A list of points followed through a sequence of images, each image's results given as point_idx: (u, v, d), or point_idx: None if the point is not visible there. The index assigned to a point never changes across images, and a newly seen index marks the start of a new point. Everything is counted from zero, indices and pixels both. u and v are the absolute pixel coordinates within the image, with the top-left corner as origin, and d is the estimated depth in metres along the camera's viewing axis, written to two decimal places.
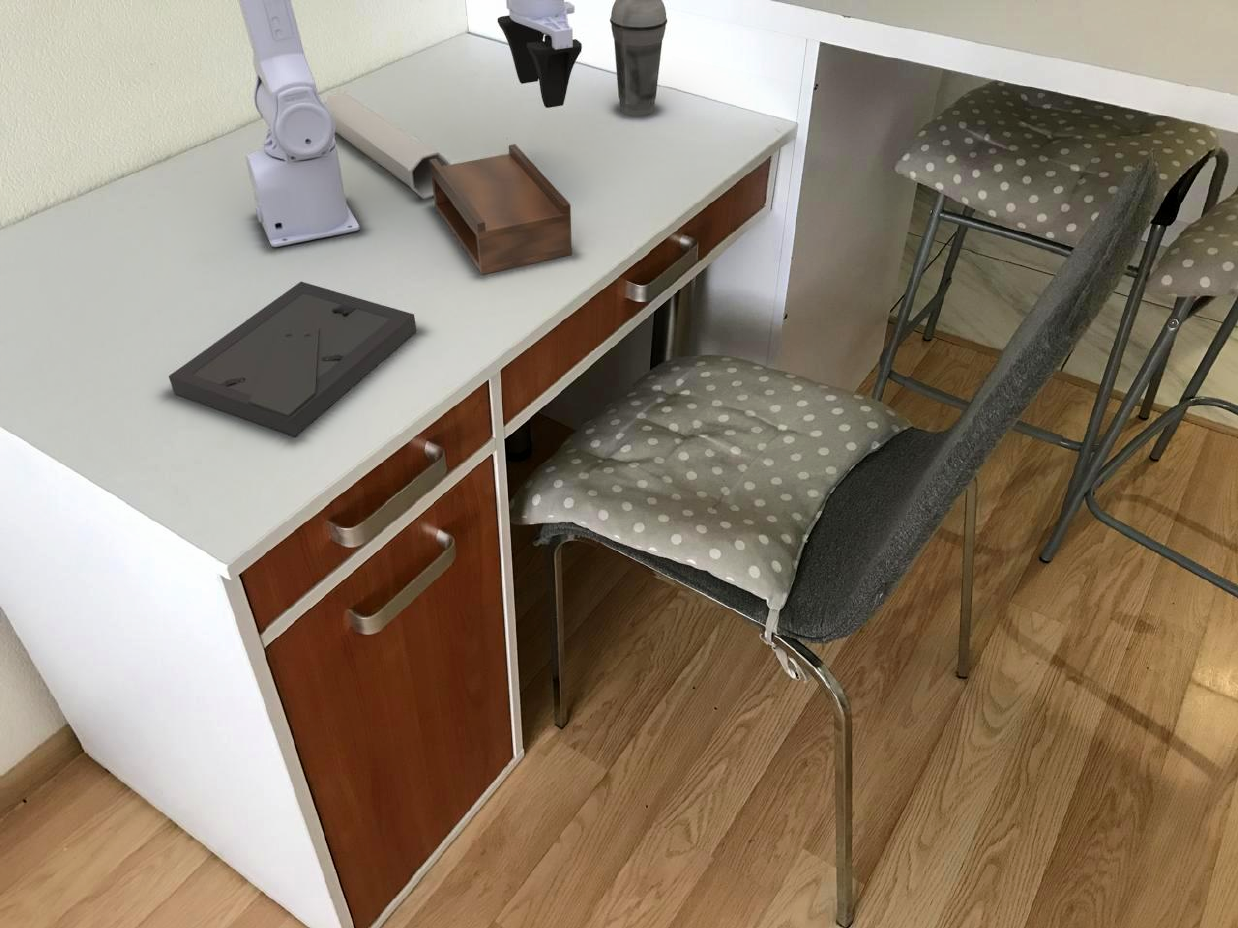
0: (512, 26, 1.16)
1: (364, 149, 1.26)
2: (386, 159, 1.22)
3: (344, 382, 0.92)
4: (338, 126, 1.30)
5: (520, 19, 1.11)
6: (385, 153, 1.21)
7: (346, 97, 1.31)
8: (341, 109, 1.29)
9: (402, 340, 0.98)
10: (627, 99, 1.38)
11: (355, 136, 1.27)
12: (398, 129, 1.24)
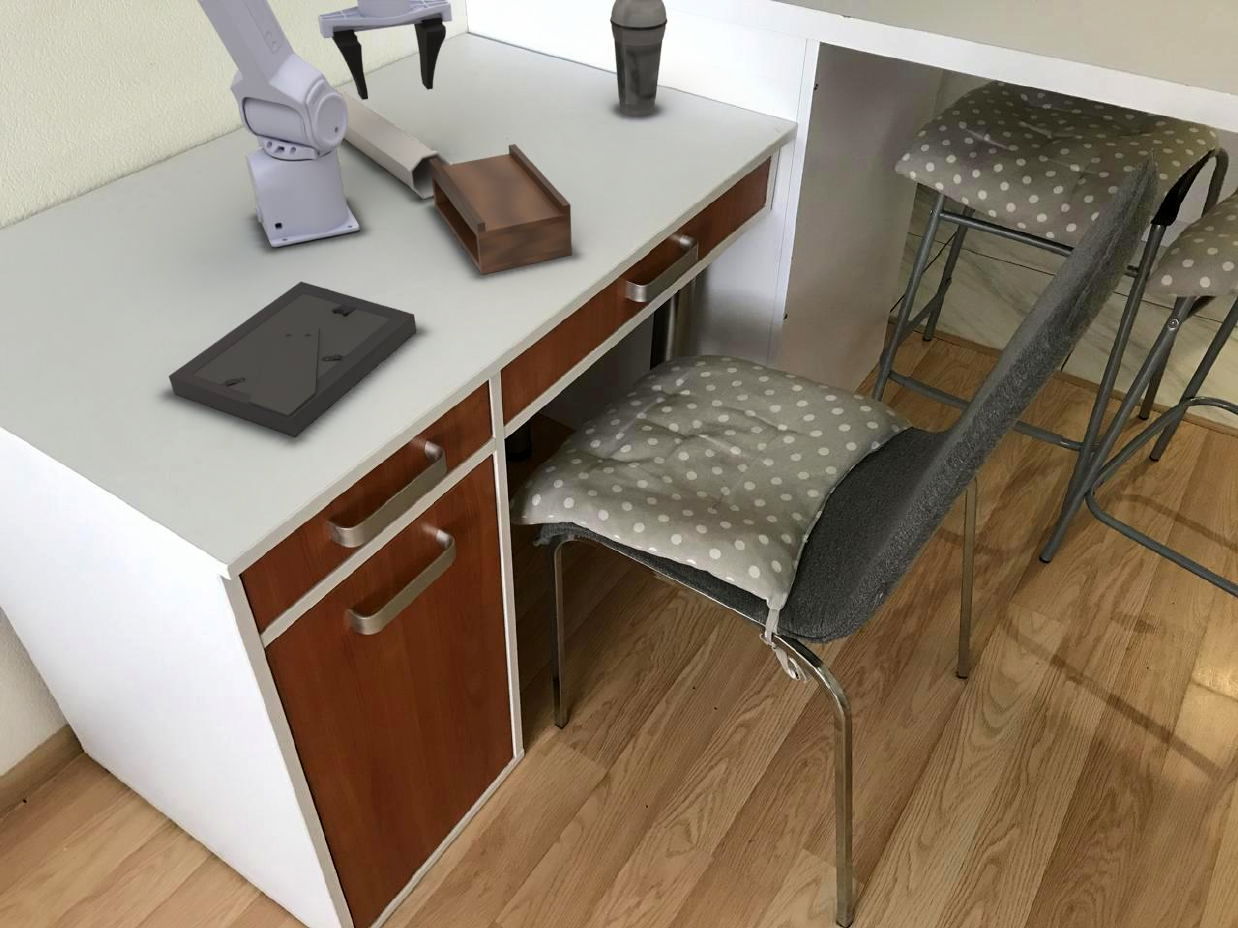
0: None
1: (364, 149, 1.26)
2: (386, 159, 1.22)
3: (344, 382, 0.92)
4: None
5: (406, 17, 1.15)
6: (385, 153, 1.21)
7: (346, 97, 1.31)
8: None
9: (402, 340, 0.98)
10: (627, 99, 1.38)
11: (355, 136, 1.27)
12: (398, 129, 1.24)
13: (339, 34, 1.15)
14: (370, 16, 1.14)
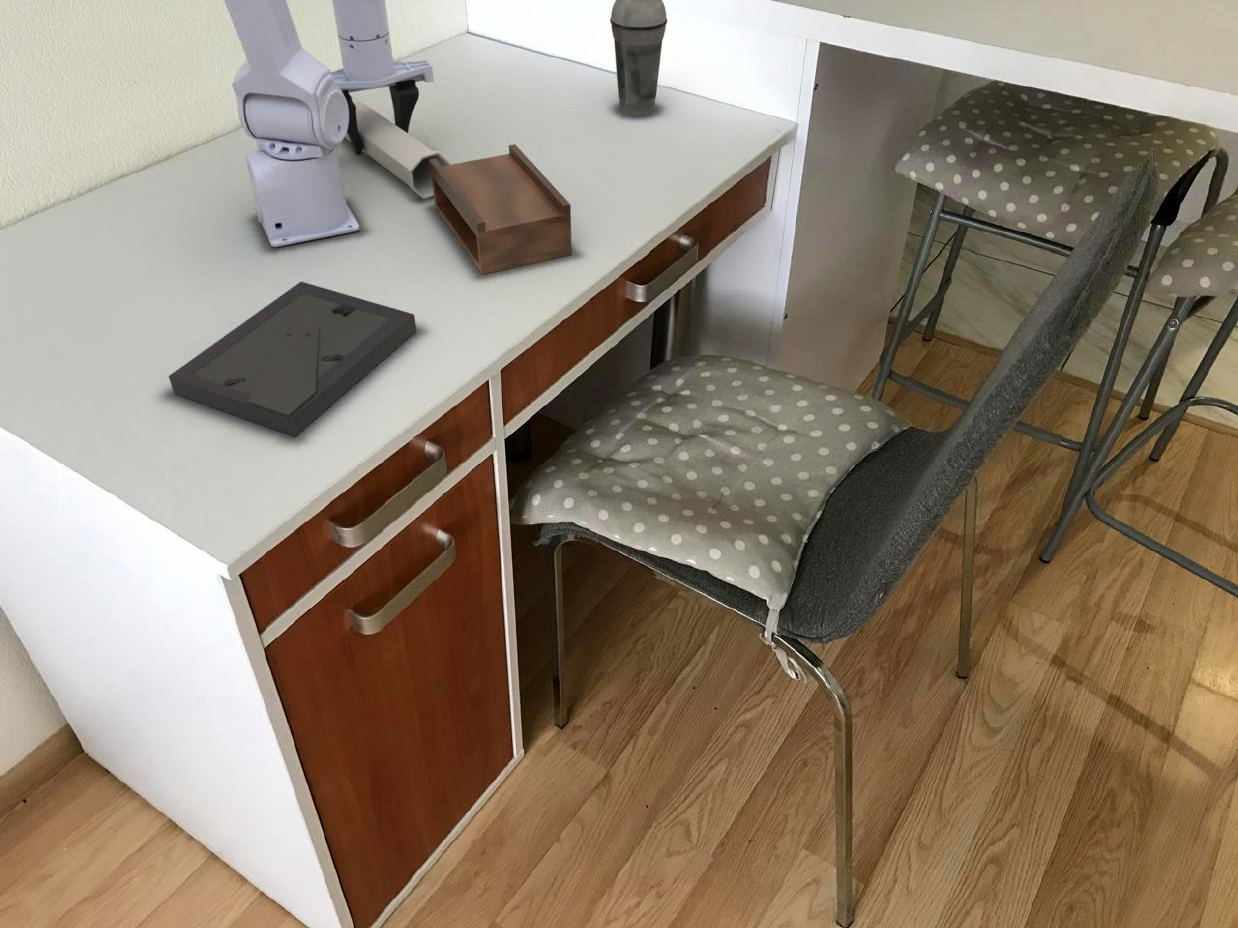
0: None
1: (365, 149, 1.26)
2: (387, 159, 1.22)
3: (344, 382, 0.92)
4: None
5: (390, 79, 1.21)
6: (385, 152, 1.21)
7: None
8: None
9: (402, 340, 0.98)
10: (627, 99, 1.38)
11: None
12: (399, 129, 1.24)
13: None
14: (355, 79, 1.20)
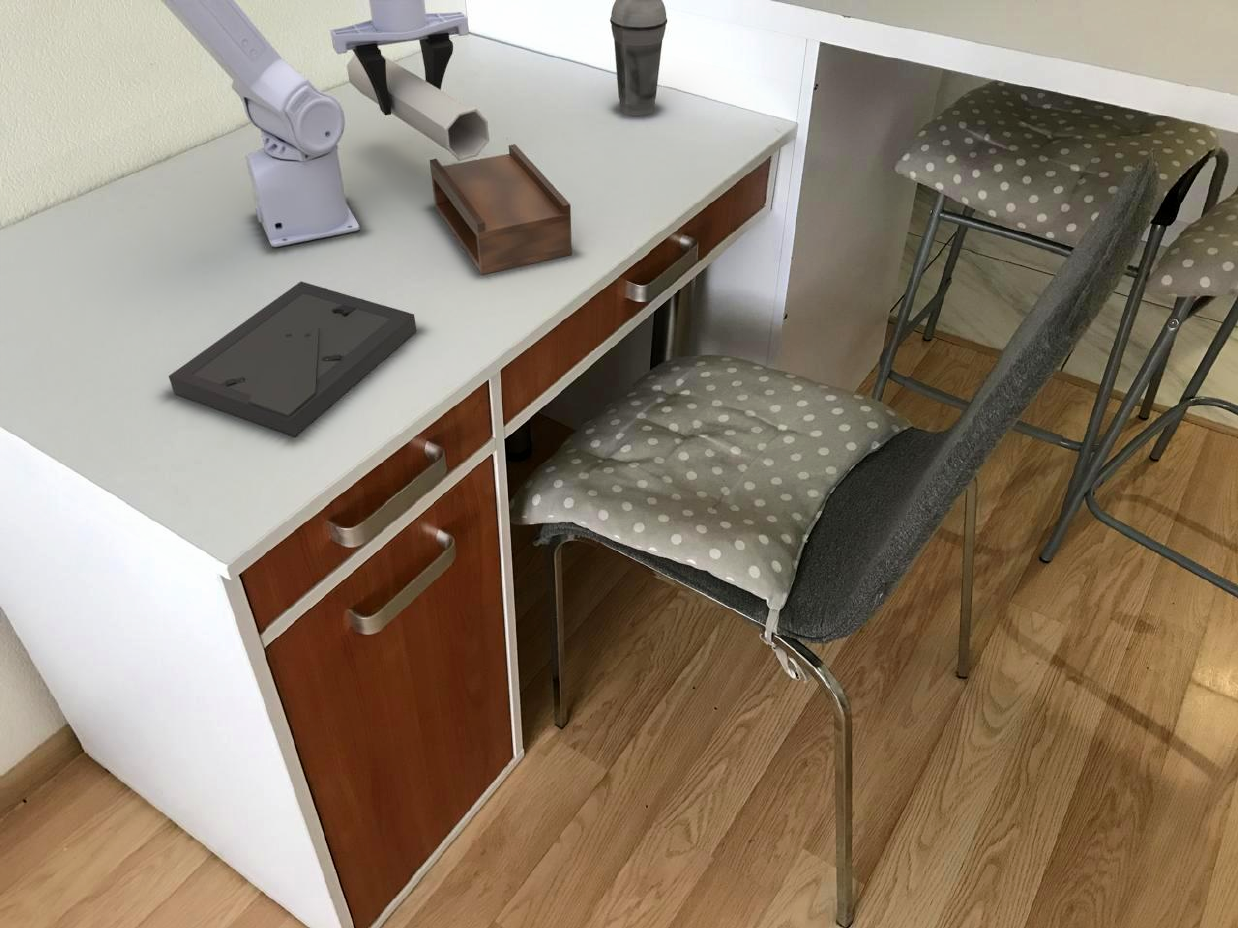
0: (382, 57, 1.12)
1: (394, 108, 1.16)
2: (419, 118, 1.12)
3: (344, 382, 0.92)
4: (365, 85, 1.20)
5: (422, 31, 1.11)
6: (417, 111, 1.12)
7: None
8: None
9: (402, 339, 0.98)
10: (627, 99, 1.38)
11: None
12: (431, 86, 1.14)
13: (362, 48, 1.11)
14: (385, 31, 1.10)
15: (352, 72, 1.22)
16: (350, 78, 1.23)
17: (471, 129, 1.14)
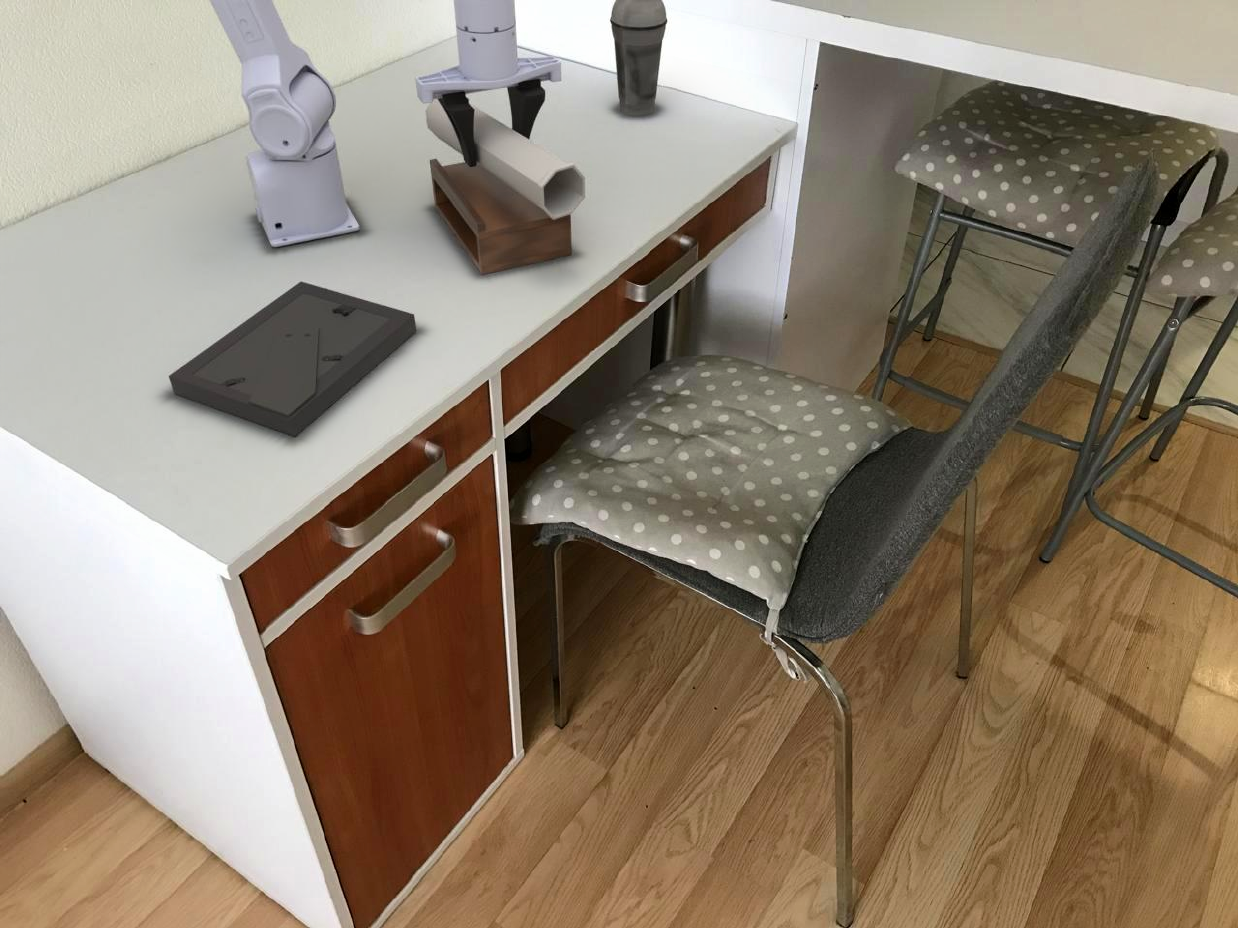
0: (471, 107, 1.03)
1: (479, 159, 1.08)
2: (509, 172, 1.04)
3: (344, 382, 0.92)
4: (446, 132, 1.12)
5: (514, 79, 1.03)
6: (508, 164, 1.03)
7: None
8: None
9: (402, 339, 0.98)
10: (627, 99, 1.38)
11: None
12: (521, 137, 1.06)
13: (449, 97, 1.03)
14: (475, 79, 1.02)
15: (431, 118, 1.13)
16: (428, 124, 1.14)
17: (565, 184, 1.05)
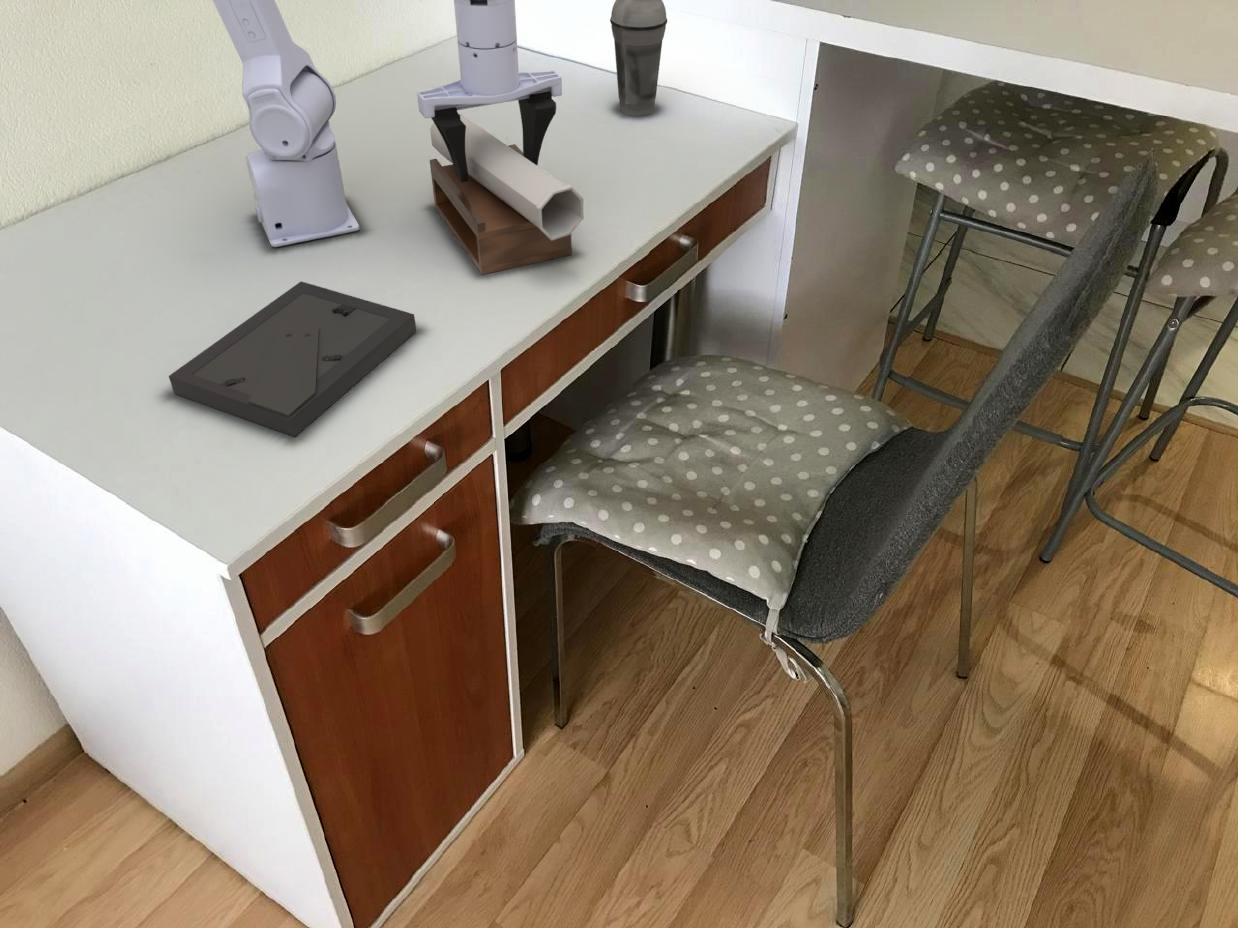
0: (462, 123, 1.04)
1: (481, 179, 1.09)
2: (509, 192, 1.05)
3: (344, 382, 0.92)
4: None
5: (515, 93, 1.03)
6: (508, 185, 1.05)
7: None
8: None
9: (402, 339, 0.98)
10: (627, 99, 1.38)
11: (470, 164, 1.10)
12: (522, 157, 1.07)
13: (441, 113, 1.03)
14: (476, 94, 1.02)
15: (435, 137, 1.15)
16: (433, 142, 1.16)
17: (564, 205, 1.06)
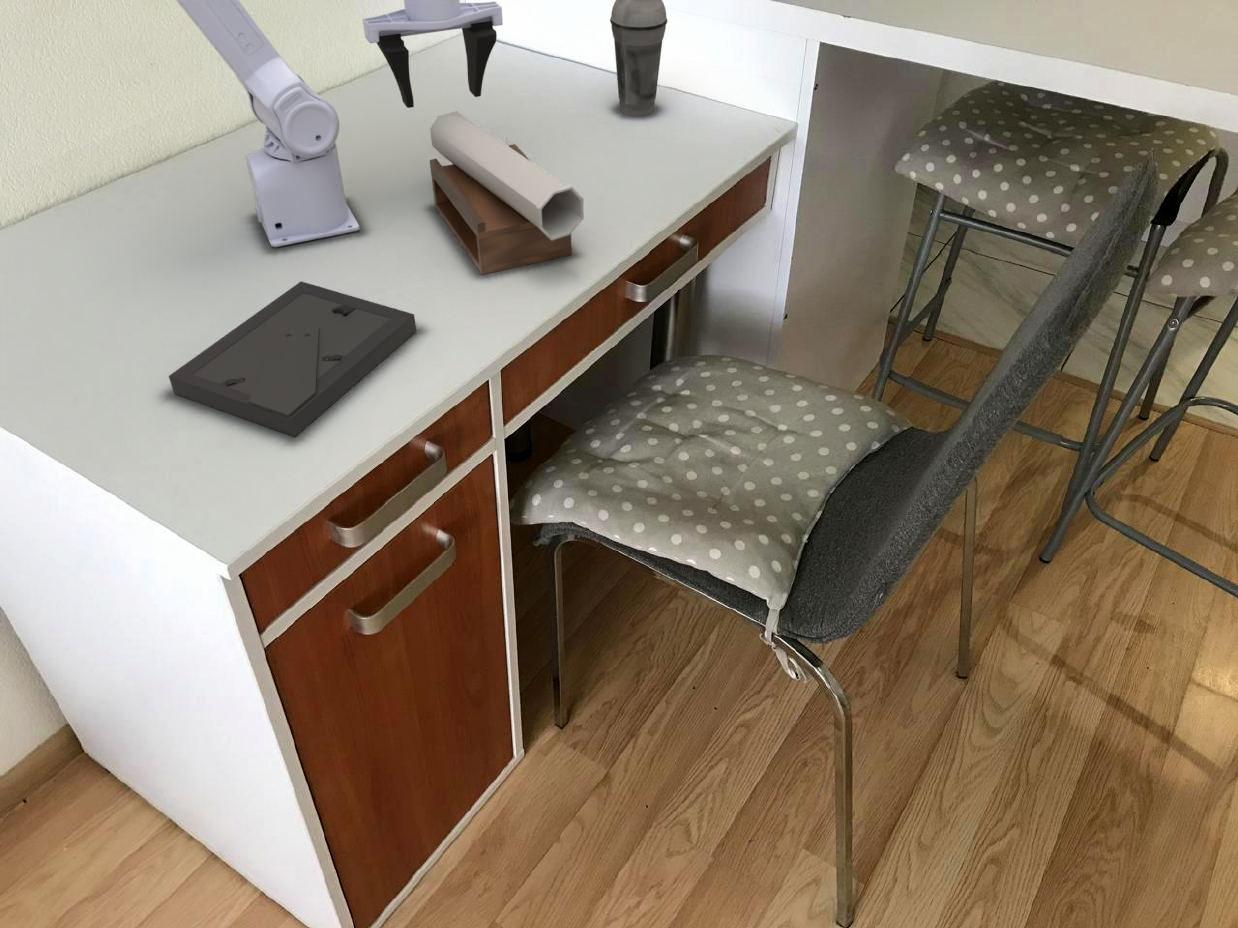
0: (406, 48, 1.10)
1: (481, 179, 1.09)
2: (509, 192, 1.05)
3: (344, 382, 0.92)
4: (449, 151, 1.13)
5: (456, 21, 1.09)
6: (508, 185, 1.05)
7: (459, 118, 1.15)
8: (454, 132, 1.13)
9: (402, 339, 0.98)
10: (627, 99, 1.38)
11: (470, 164, 1.10)
12: (522, 157, 1.07)
13: (385, 39, 1.09)
14: (418, 20, 1.08)
15: (435, 136, 1.15)
16: (433, 142, 1.16)
17: (564, 205, 1.06)
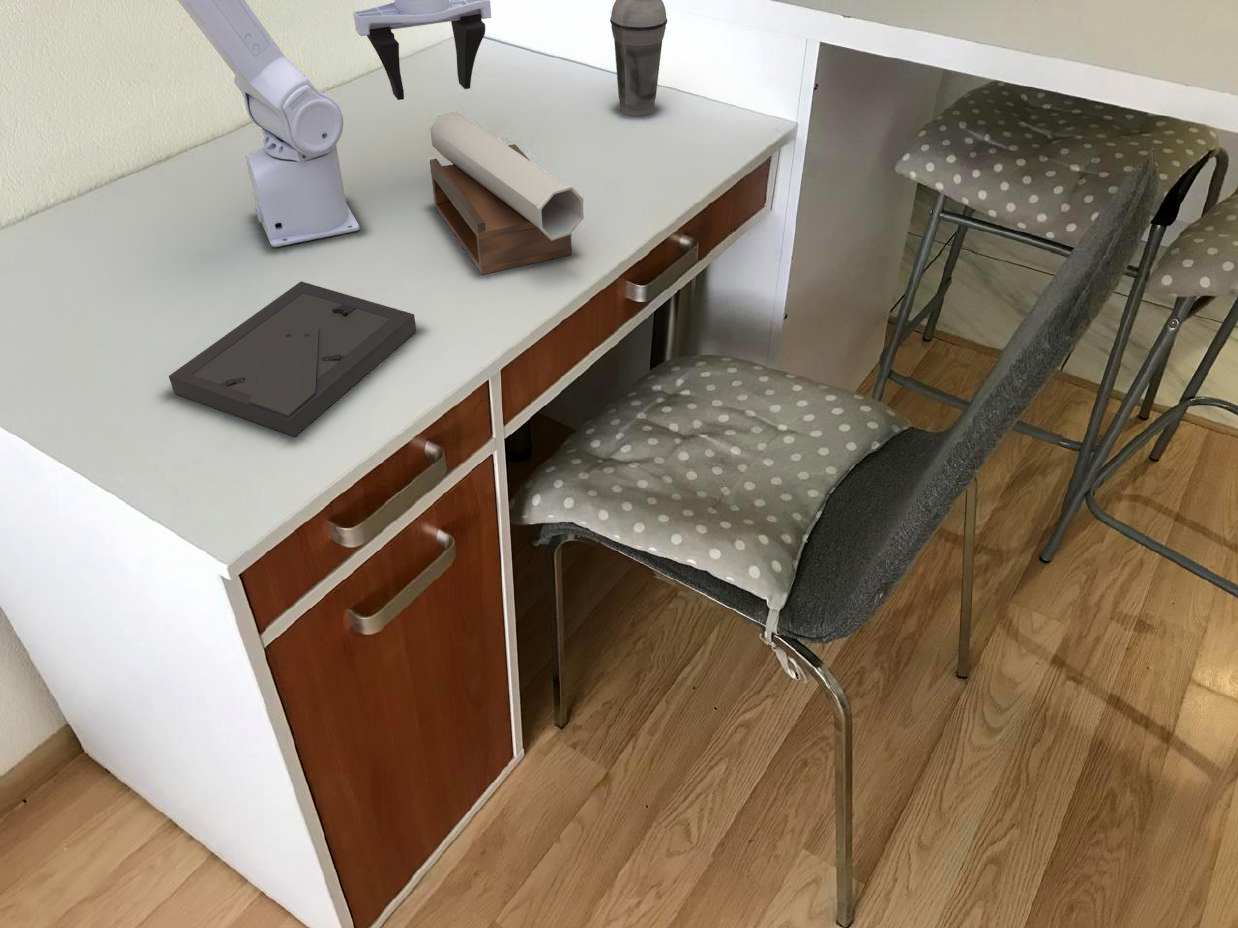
0: None
1: (481, 179, 1.09)
2: (509, 192, 1.05)
3: (344, 382, 0.92)
4: (449, 151, 1.13)
5: (445, 13, 1.11)
6: (507, 185, 1.05)
7: (459, 118, 1.15)
8: (454, 132, 1.13)
9: (402, 339, 0.98)
10: (627, 99, 1.38)
11: (470, 164, 1.10)
12: (522, 157, 1.07)
13: (376, 32, 1.11)
14: (408, 13, 1.10)
15: (435, 136, 1.15)
16: (433, 142, 1.16)
17: (564, 205, 1.06)
